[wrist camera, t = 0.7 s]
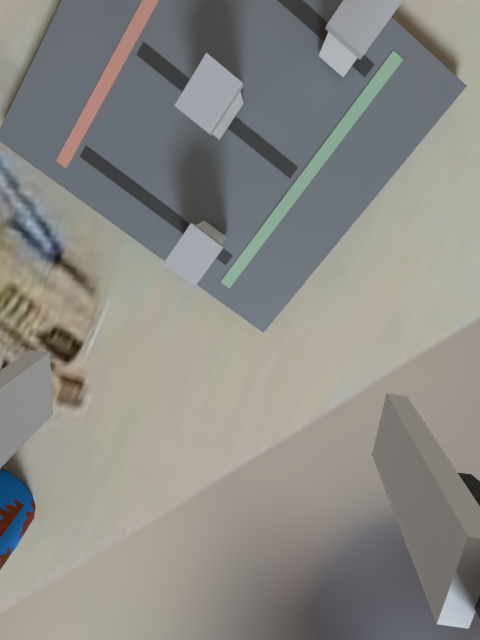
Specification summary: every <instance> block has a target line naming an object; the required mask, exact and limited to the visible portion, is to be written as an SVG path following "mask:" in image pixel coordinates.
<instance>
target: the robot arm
mask: <svg viewBox="0 0 480 640" xmlns="http://www.w3.org/2000/svg"><path fill="white" fill-rule="evenodd" d="M52 414H53V405H52V386H51V368H50V353H49V352H41V351H32V350H30V351H29V352H27V353H26V354H24V355H23V356H21V357H20V358H18V359H17V360H15V361H14V362H12V363H11V364H9V365H8V366H6V367H5V368H3V369H2V370H0V468H1V467H2V466H3V465H4V464H5V463H6V462H7V461H8V460H9V459H10V458H11V457H12V456H13V455H14V454H15V453H16V452H17V450H18V449H19V448H20V447H21V446H22V445H23V444H24V443H25V442H26V441H27V440H28V439H29V438H30V437H31V436H32V435H33V434H34V433H35V432H36V431H37V430H38V429H39V428H40V427H41V426H42V425H43V424H44V423H45V422H46V421H47V420H48V419H49V418H50V416H51V415H52ZM372 456H373V459H374V461H375V464H376V466H377V469H378V472H379V474H380V477H381V479H382V482H383V485H384V487H385V490H386V493H387V495H388V498H389V500H390V503H391V505H392V508H393V510H394V513H395V516H396V519H397V521H398V524H399V526H400V529H401V532H402V534H403V537H404V539H405V542H406V545H407V547H408V550H409V552H410V555H411V558H412V560H413V563H414V566H415V568H416V571H417V573H418V576H419V579H420V581H421V584H422V586H423V589H424V592H425V594H426V597H427V599H428V602H429V605H430V607H431V610H432V613H433V615H434V618H435V620H436V623H437V624H440V625H447V626H454V627H461V628H468V629H469V626H470V624H471V621H472V619H473V616H474V614H475V611H476V612H477V614H478V616H479V618H480V481H479V480H477V479H476V478H475V477H474V476H473V475H471V474H463V473H457V471H456V470H455V468H454V467H453V465H452V464H451V462H450V461H449V459H448V458H447V456H446V455H445V453H444V452H443V450H442V448H441V447H440V446H439V444H438V443H437V441H436V439H435V438H434V436H433V435H432V433H431V432H430V430H429V429H428V428H427V426H426V425H425V423H424V422H423V420H422V418H421V417H420V415H419V414H418V412H417V411H416V409H415V408H414V406H413V405H412V403H411V402H410V400H409V399H408V397H407V396H401V395H393V394H386V398H385V402H384V407H383V411H382V415H381V419H380V423H379V427H378V432H377V436H376V440H375V445H374V448H373V453H372Z"/></svg>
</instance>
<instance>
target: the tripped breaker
mask: <svg viewBox="0 0 480 640" xmlns="http://www.w3.org/2000/svg"><path fill="white" fill-rule="evenodd" d="M242 88H243V83H242V82H241V81H240V80H239V79H237V78H236V77H235V76H234V75H233V74H231V73H230V72H229V71H228V70H227V69H225V68H224V67H223V66H222V65H221V64H219V63H218V62H217V61H216V60H215V59H213V58H212V57H211V56H210V55H209V54H207V53H206V54H205V56H204V58H203V59H202V61H201V62H200V64H199V66H198V67H197V69H196V71H195V72H194V74H193V76H192V77H191V79H190V81H189V82H188V84H187V85H186V87H185V89H184V90H183V92H182V94H181V95H180V97H179V99H178V100H177V102H176V104H175V105H174V106H175V107H176V108H177V109H179V110H180V111H181V112H182V113H184V114H185V115H186V116H187V117H189V118H190V119H191V120H192V121H194V122H195V123H196V124H197V125H199V126H200V127H201V128H202V129H204V130H205V131H206V132H207V133H209V134H210V135H214V136H215V137H216V138H217V139H219V140H220V139H221V137H222V136H223V134H224V133H225V131H226V130H227V128H228V126H229V125H230V123H231V122H232V120H233V119H234V117H235V116H236V114H237V113H238V111H239V110H240V108H241V107H242V105H243V100H242V96H241V92H240V91H241V89H242Z"/></svg>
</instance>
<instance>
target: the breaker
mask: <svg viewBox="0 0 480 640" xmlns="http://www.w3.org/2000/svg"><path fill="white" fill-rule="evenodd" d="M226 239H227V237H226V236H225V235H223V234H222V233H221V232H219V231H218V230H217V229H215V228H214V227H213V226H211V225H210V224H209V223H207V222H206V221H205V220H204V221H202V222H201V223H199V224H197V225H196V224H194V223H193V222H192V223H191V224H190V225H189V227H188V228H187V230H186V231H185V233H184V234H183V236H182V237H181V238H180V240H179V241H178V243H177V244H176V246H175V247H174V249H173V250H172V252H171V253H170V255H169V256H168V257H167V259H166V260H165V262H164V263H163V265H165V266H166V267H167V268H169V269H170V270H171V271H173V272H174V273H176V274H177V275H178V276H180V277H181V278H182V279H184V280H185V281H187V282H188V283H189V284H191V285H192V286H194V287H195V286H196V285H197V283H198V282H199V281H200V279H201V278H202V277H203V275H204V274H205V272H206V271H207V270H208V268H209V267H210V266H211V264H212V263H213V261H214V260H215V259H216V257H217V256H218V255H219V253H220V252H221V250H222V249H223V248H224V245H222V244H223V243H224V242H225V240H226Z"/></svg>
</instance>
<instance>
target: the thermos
mask: <svg viewBox="0 0 480 640" xmlns="http://www.w3.org/2000/svg"><path fill="white" fill-rule="evenodd" d="M34 513H35V504H34V500H33V497H32V494H31V493H30V491H29V490H28V488H27V487H26V486H25V484H24V483H23V482H22V481H21V480H19V479H18V478H17V477H15V476H14V475H13V474H11V473H10V472H7V471H5V470H2V469H0V569H1V568H2V566H3V565H4V564H5V562H6V561H7V559H8V558H9V556H10V555H11V553H12V552H13V551H14V549H15V548H16V546H17V545H18V543H19V541H20V540H21V538H22V537H23V535H24V533H25V532H26V530H27V528H28V527H29V525H30V523H31V522H32V520H33V519H34Z"/></svg>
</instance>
